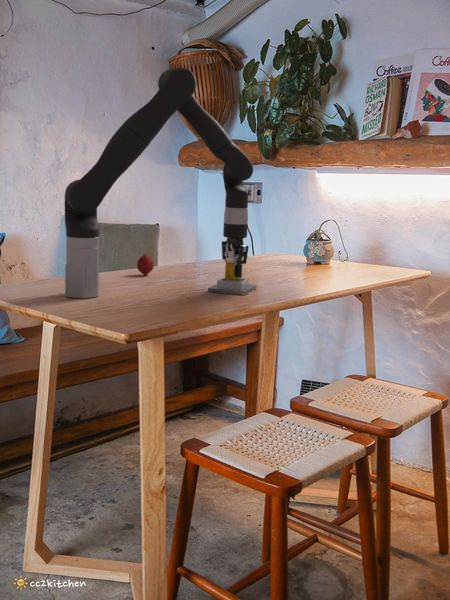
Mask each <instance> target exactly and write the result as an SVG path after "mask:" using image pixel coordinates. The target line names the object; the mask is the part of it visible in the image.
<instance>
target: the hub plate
mask: <svg viewBox="0 0 450 600" xmlns="http://www.w3.org/2000/svg"><path fill="white" fill-rule="evenodd" d="M257 286H258V285H257V284H250V280H249V278H243V277H242V281H241V282H234V281H225V276H223V277H221V278H219V279H217V280H216V283H215V284H214V285H211V286H210V287H208V288H207V293H214V292H215V293H217V294H224V293H232V294H231V295H235V294H244V295H243V296H246V295H248V294H249V292H250V293H252V292H253V291H255V290H257V289H256V288H257ZM254 289H255V290H254ZM252 290H253V291H252ZM251 291H252V292H251ZM247 293H248V294H247ZM245 294H246V295H245Z"/></svg>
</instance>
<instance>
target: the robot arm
mask: <svg viewBox="0 0 450 600" xmlns="http://www.w3.org/2000/svg"><path fill="white" fill-rule="evenodd" d="M157 86H158V90H157V92H156V93H155V95H154V96H152V98H151V99H150V100H149V101H148V102H147V103H146V104H144V105H143V106H142V107H140V108H139V109H138V110H137V111H135V112H134V113H133V114H131V116H129V117H128V118H127V119H126V120H125V121H124V122H123V123H122V124H121V125H120V127H119V128H118V129H117V130H116V131H115V133H114V134H113V135H112V136H111V138H110V139H109V141H108V142H107V145H105V147H104V150H103V151H102V153H101V154H100V156H99V159H98V160H97V161H96V162H95V164H94V165H93V166H92V167H91V168H89V171H87V172H86V173H85V174H84V175H83V176H82V177H81V178H80V179H76V180H73V181H71V182H70V183H69V184H68V185H67V187H66V189H65V192H64V225H65V236H66V239H65V240H66V243H65V244H66V245H65V246H66V247H65V248H66V249H65V252H66V253H65V261H66V262H65V264H64V276H65V277H64V285H65V286H64V297H68V298H77V299H88V298H96V297H99V287H100V285H99V284H100V283H99V281H100V279H99V278H100V277H99V276H100V275H99V274H100V270H99V269H100V268H99V267H100V266H99V265H100V263H99V261H100V258H99V257H100V255H99V253H100V227H99V224H98V207H99V206H100V205H101V203H102V202H103V200H104V199H105V197H106V196H107V194H108V193H109V192H110V190H111V189H112V187H113V186H114V184H115V183H116V182H117V180H118V179H119V178H120V177H121V176H122V175H123V174H124V173H125V172H126V171H127V170H128V169H129V168H130V167H131V166H132V165H133V164H134V162H136V160H137V159H138V158H139V157H141V155H142V154H143V153H144V151H145V150H146V149H147V148H148V146H149V145H150V144H151V143H152V141H153V140H154V139H155V138H156V136H157V135H158V134H159V133H160V131H161V130H162V129H163V127H164V126H165V124H166V123H167V122H168V120H169V119H170V118H171V117H172V116H173V115H174V114H175V113H176V112H177V111H178V112H179V114H180V115H182V117H183V118H184V119H185V120H186V121H187V123H189V125H190V126H191V127H192V128H193V130H194V131H195V132H196V134H197V135H198V136H199V137H200V139H201V140H202V142H203V143H204V145H206V148H208V149H209V151H210V153H212V155H213V156H214V157H215V158H217V159H219V160H220V161H221V162H223V163H224V165H223V169H222V178H223V179H222V180H223V183H224V184H223V185H224V191H225V202H224V203H225V205H224V213H223V230H222V231H223V232H222V233H223V237H224V238H226V240H222V241H221V258H222V260H223V261H224V262H225V263H226V259H227V258H228V257H229V256H228V251H232V257H233V258H234V261H235V272H234V276H235V277H241V276H242V277H243V265H246V264H247V258H248V254H249V245H248V244H247V245H246V244H244V239H246V238H247V237H248V222H249V210H248V208H249V207H248V206H249V192H248V190H246V189H245V187H244V181H248V180H249V179H250V178H252V176H253V173H254V166H253V162H252V161H251V159H250V158H249V157H248V156H247V155H246V154H245V153H244V152H243V150H242V149H240V148H239V147H238V146H237V144H235V143H234V142H233V140H232V138H231V137H230V136H229V135H228V134H227V131H226V130H225V129H224V128H223V126H221V125H220V123H219V122H218V121H217V120H216V119H215V118H214V116H212V115H211V114H210V113H209V112H208V111H206V109H204V107H202V105H201V104H200V103H199V101H198V100H197V98H196V97H195V96H194V94H195V92H196V88H197V78H196V75H195V74H194V73H193V71H191V70H190V69H188V68H185V67H174V68H170V69H167V70H164V71H163V72H162V73H161V74H160V75H159V78H158V81H157ZM236 254H239V255H236ZM237 258H238V260H237Z"/></svg>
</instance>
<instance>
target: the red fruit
mask: <svg viewBox="0 0 450 600" xmlns="http://www.w3.org/2000/svg"><path fill="white" fill-rule="evenodd" d="M148 254H149V253H147V252H145V253H144V254H143V255H142V256H141V257H139V259H138V260H137V263H136V268H137V270H138V271H139V272H140V274H142V275H143V276H147V275H149V274H150V273H151V272H152V271H153V270H154V266H155V263H154V261H153V258H151V256H149V255H148Z"/></svg>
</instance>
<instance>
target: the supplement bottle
mask: <svg viewBox="0 0 450 600" xmlns="http://www.w3.org/2000/svg"><path fill="white" fill-rule="evenodd" d="M236 255H239V254H236ZM228 256H229V257H228V258H227V259H226V262H225V268H224V269H225V271H224V273H225V274H224V277H225V281H234V282H241V281H242V278H243V275H242V276H241V277H235V276H234V272H235V261H234V258H233V257H232V251H228ZM237 260H238V258H237Z"/></svg>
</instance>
